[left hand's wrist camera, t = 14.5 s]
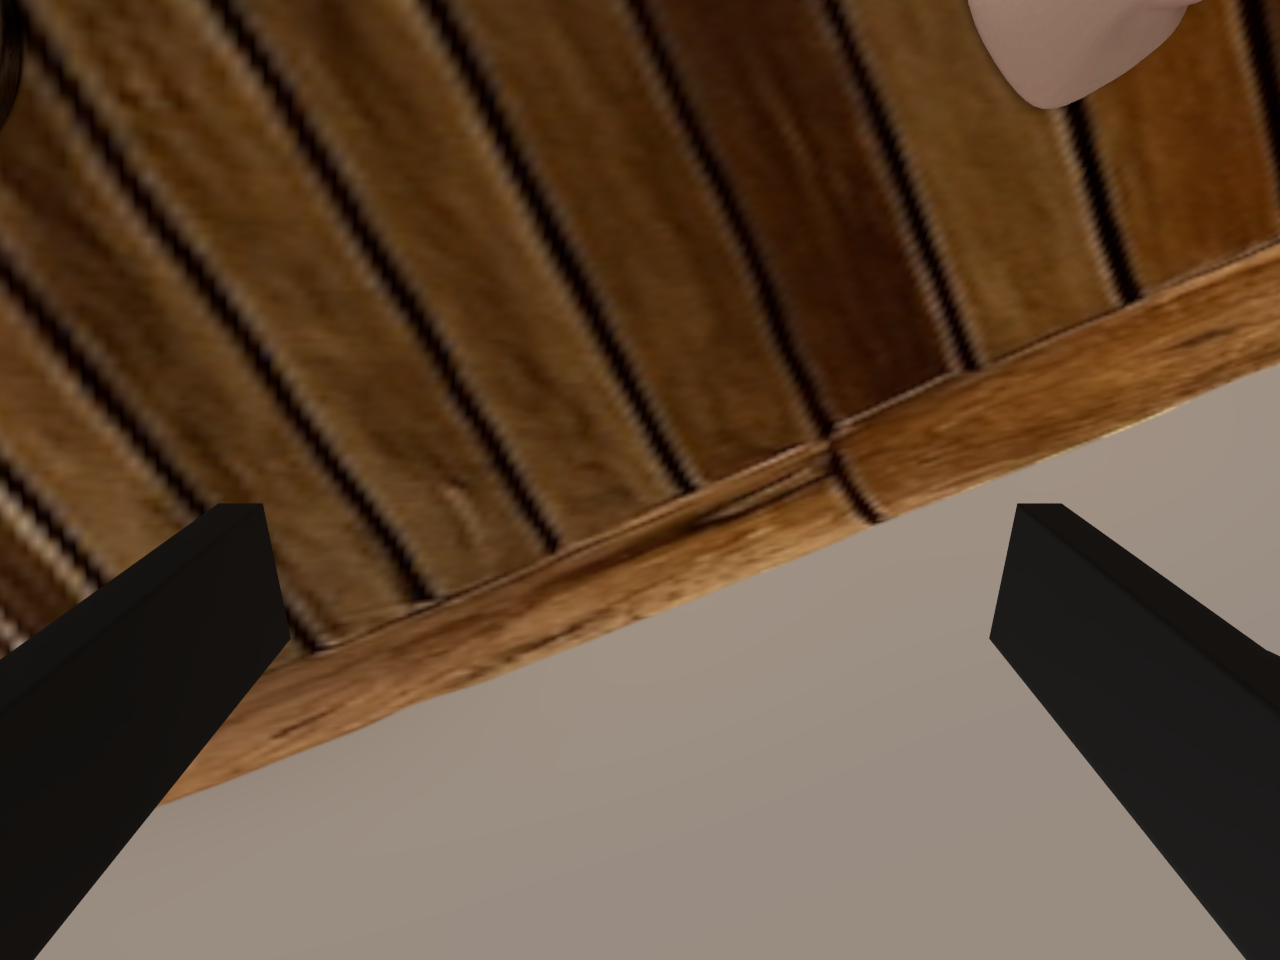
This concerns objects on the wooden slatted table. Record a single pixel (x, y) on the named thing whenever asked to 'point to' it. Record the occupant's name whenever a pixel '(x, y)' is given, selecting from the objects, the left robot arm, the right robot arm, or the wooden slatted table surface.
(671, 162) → the wooden slatted table surface
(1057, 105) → the anatomical model
